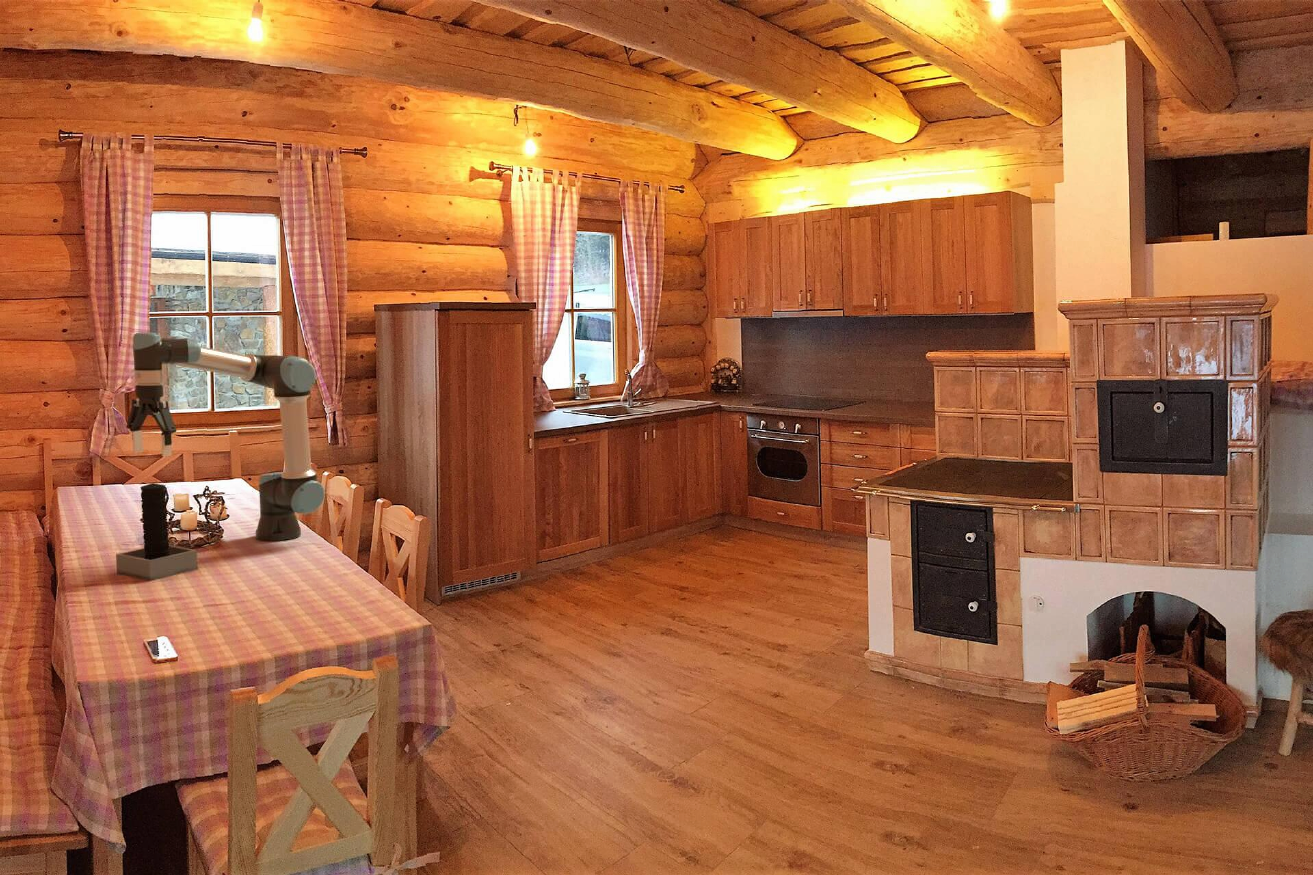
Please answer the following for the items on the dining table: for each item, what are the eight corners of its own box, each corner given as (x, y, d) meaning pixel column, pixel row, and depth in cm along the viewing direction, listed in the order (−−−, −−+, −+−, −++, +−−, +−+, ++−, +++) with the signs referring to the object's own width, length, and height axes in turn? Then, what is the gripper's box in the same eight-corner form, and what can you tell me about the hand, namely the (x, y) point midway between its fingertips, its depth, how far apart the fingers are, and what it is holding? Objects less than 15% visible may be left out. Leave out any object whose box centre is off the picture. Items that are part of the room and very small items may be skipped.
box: (164, 562, 321) (163, 543, 320) (197, 569, 314) (196, 550, 313) (117, 573, 307) (116, 554, 307) (150, 580, 300) (149, 561, 299)
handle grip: (132, 570, 307) (161, 573, 305) (126, 485, 303) (155, 486, 301) (154, 562, 316) (182, 564, 314) (149, 479, 313) (178, 481, 311)
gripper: (111, 383, 306) (115, 452, 309) (164, 387, 294) (167, 459, 297) (134, 381, 312) (138, 449, 315) (187, 385, 301) (190, 455, 303)
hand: (152, 454), depth 306 cm, fingers open, 13 cm apart
